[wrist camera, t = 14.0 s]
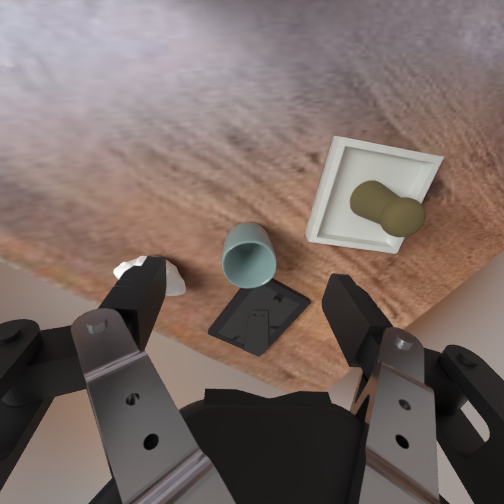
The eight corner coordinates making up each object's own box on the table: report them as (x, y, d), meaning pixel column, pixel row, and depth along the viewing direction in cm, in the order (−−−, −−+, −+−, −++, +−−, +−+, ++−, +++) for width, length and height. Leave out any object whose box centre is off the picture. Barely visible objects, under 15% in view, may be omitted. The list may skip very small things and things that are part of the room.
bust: (192, 269, 48) (196, 263, 37) (179, 308, 46) (179, 313, 35) (129, 249, 45) (113, 237, 34) (112, 289, 43) (91, 289, 33)
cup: (264, 211, 41) (272, 235, 32) (272, 251, 44) (281, 283, 36) (219, 221, 41) (214, 247, 32) (230, 260, 45) (229, 293, 36)
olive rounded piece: (355, 222, 42) (391, 251, 32) (344, 191, 39) (380, 212, 30) (390, 206, 41) (438, 231, 31) (381, 173, 38) (431, 188, 28)
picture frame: (259, 349, 57) (308, 296, 50) (260, 357, 55) (311, 303, 48) (208, 327, 53) (255, 267, 46) (207, 335, 51) (255, 273, 44)
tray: (332, 135, 36) (340, 136, 34) (429, 154, 38) (443, 157, 36) (304, 234, 43) (309, 241, 41) (387, 246, 45) (396, 253, 43)
